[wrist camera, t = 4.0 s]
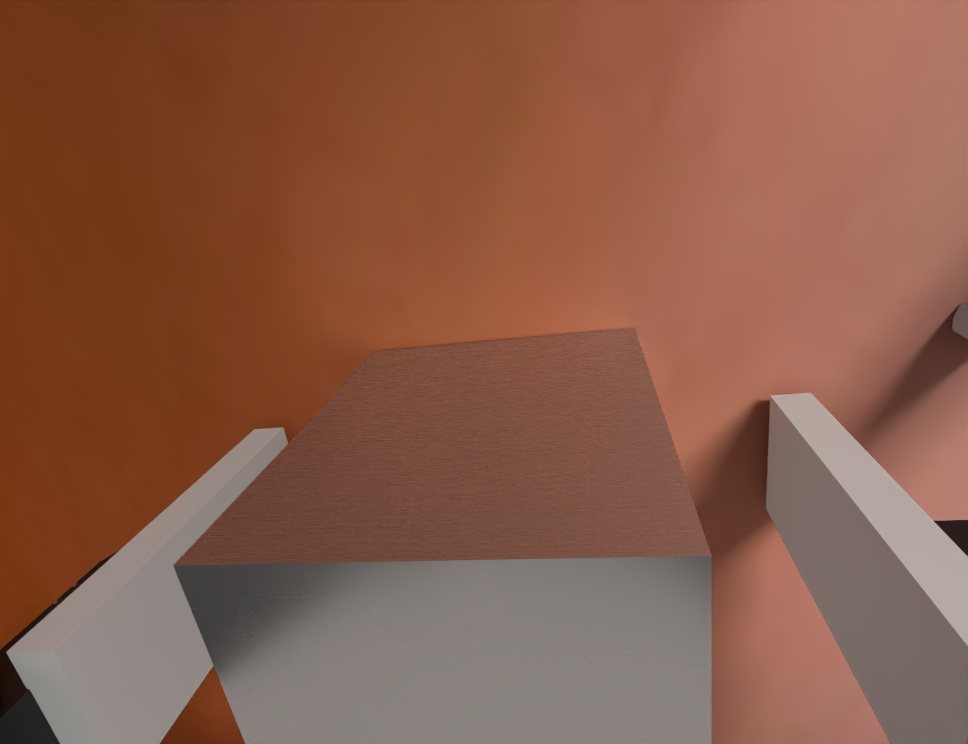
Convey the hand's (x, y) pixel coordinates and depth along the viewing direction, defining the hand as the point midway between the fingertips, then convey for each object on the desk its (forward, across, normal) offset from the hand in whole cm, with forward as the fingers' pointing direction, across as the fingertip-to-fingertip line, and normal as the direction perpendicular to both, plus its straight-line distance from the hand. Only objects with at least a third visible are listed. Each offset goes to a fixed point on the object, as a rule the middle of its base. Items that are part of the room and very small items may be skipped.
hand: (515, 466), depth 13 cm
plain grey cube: (0, 0, 0) cm, 0 cm away
